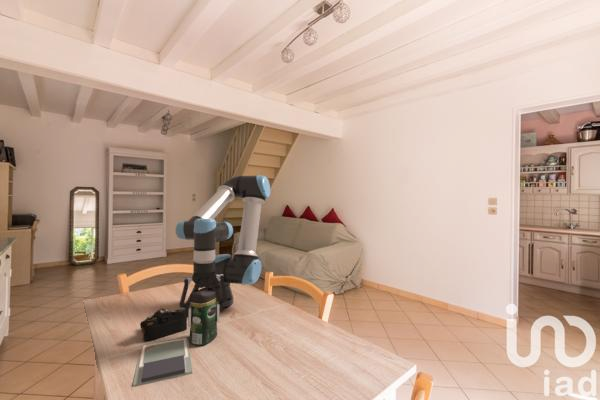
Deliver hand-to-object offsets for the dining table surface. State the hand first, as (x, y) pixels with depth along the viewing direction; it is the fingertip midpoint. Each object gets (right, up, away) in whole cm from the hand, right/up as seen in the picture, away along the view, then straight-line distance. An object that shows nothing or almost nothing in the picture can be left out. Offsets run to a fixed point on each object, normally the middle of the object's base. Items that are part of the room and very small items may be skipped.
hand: (203, 323), depth 101 cm
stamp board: (-8, -6, -13) cm, 16 cm away
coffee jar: (0, -6, 0) cm, 6 cm away
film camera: (-17, -6, +4) cm, 19 cm away
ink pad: (-5, -6, -19) cm, 21 cm away
